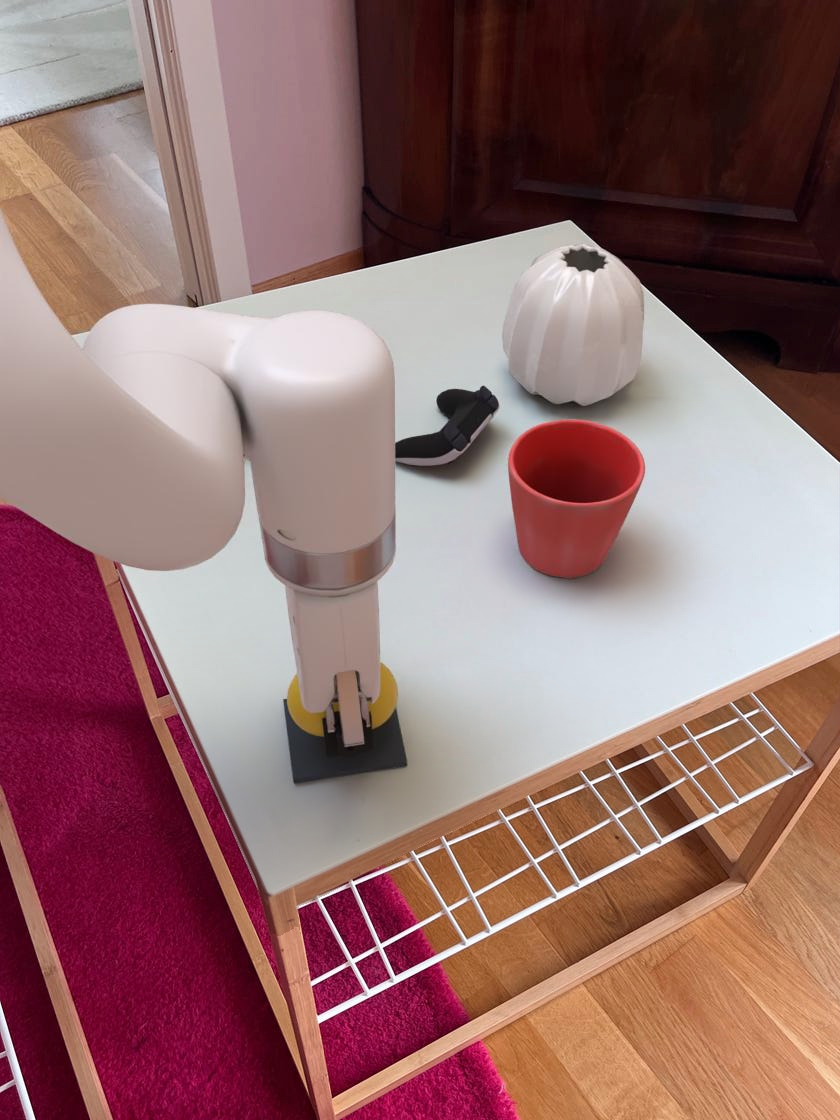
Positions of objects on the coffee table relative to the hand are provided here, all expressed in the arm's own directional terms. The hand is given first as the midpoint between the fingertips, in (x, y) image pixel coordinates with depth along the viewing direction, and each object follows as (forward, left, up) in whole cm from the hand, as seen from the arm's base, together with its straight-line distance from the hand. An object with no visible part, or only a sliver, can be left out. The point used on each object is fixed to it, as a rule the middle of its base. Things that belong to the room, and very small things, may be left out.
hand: (343, 714), depth 69 cm
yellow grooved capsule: (0, 0, 0) cm, 0 cm away
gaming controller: (+14, +31, -3) cm, 34 cm away
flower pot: (+21, +16, -3) cm, 27 cm away
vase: (+28, +39, -3) cm, 48 cm away
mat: (0, 0, -2) cm, 2 cm away
